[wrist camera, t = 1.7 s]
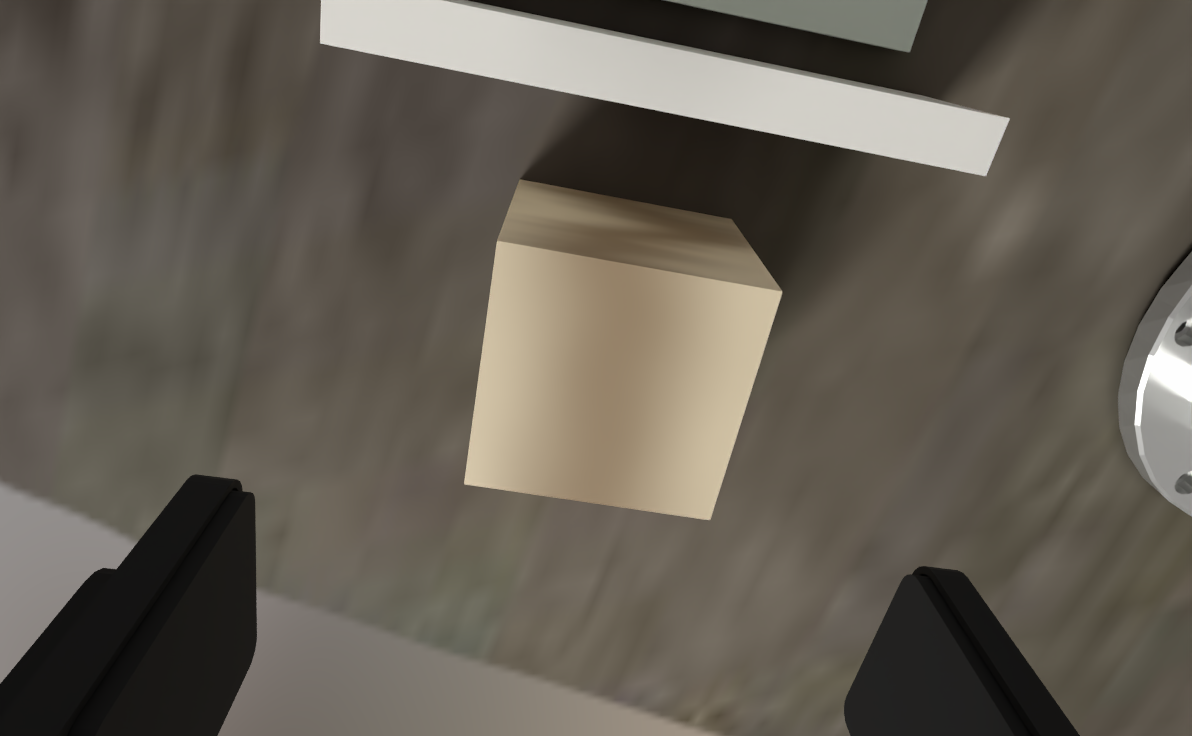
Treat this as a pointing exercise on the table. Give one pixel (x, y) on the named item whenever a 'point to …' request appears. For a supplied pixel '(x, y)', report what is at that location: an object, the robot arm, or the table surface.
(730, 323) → the maple cube
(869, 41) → the sage pad
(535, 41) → the cream screen
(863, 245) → the table surface
